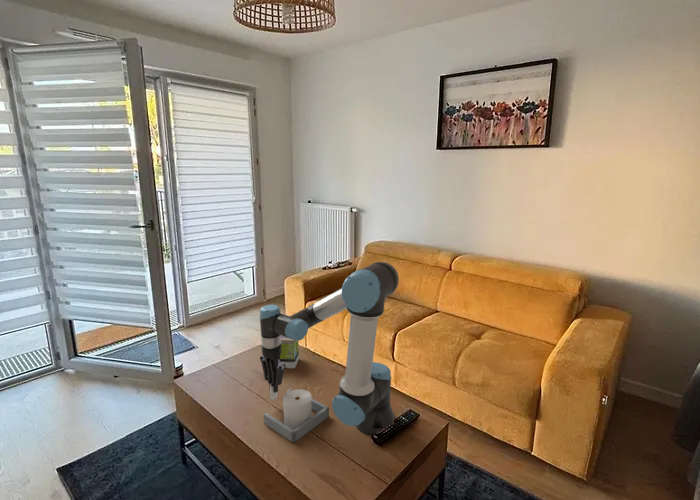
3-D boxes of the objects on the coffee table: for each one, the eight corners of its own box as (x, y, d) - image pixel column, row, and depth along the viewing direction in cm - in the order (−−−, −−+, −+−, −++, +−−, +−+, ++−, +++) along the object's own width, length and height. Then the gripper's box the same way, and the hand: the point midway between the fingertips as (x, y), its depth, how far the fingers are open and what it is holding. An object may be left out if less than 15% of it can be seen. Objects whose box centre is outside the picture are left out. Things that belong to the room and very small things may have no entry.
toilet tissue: (300, 434, 141) (299, 410, 138) (275, 423, 147) (274, 399, 144) (317, 417, 149) (317, 394, 147) (293, 407, 155) (292, 385, 153)
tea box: (299, 358, 193) (298, 331, 189) (294, 369, 183) (293, 340, 180) (270, 357, 194) (268, 330, 191) (263, 368, 185) (262, 339, 181)
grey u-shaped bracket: (329, 416, 150) (328, 407, 149) (293, 443, 136) (292, 433, 135) (300, 400, 160) (299, 391, 159) (264, 423, 146) (263, 414, 145)
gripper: (290, 346, 148) (292, 400, 154) (268, 335, 156) (271, 387, 162) (274, 353, 143) (277, 409, 148) (253, 342, 151) (256, 396, 156)
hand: (274, 397), depth 155 cm, fingers closed
